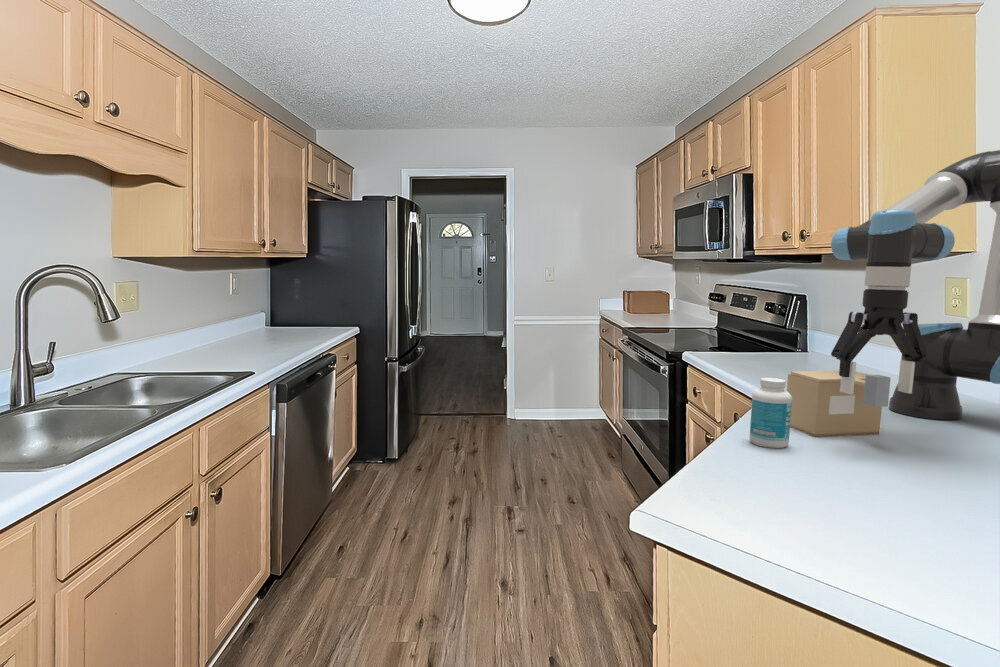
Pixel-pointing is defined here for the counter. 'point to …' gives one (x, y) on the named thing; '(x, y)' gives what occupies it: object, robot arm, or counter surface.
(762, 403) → the pill bottle
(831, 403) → the carton
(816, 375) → the flap
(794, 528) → the counter surface
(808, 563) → the counter surface
